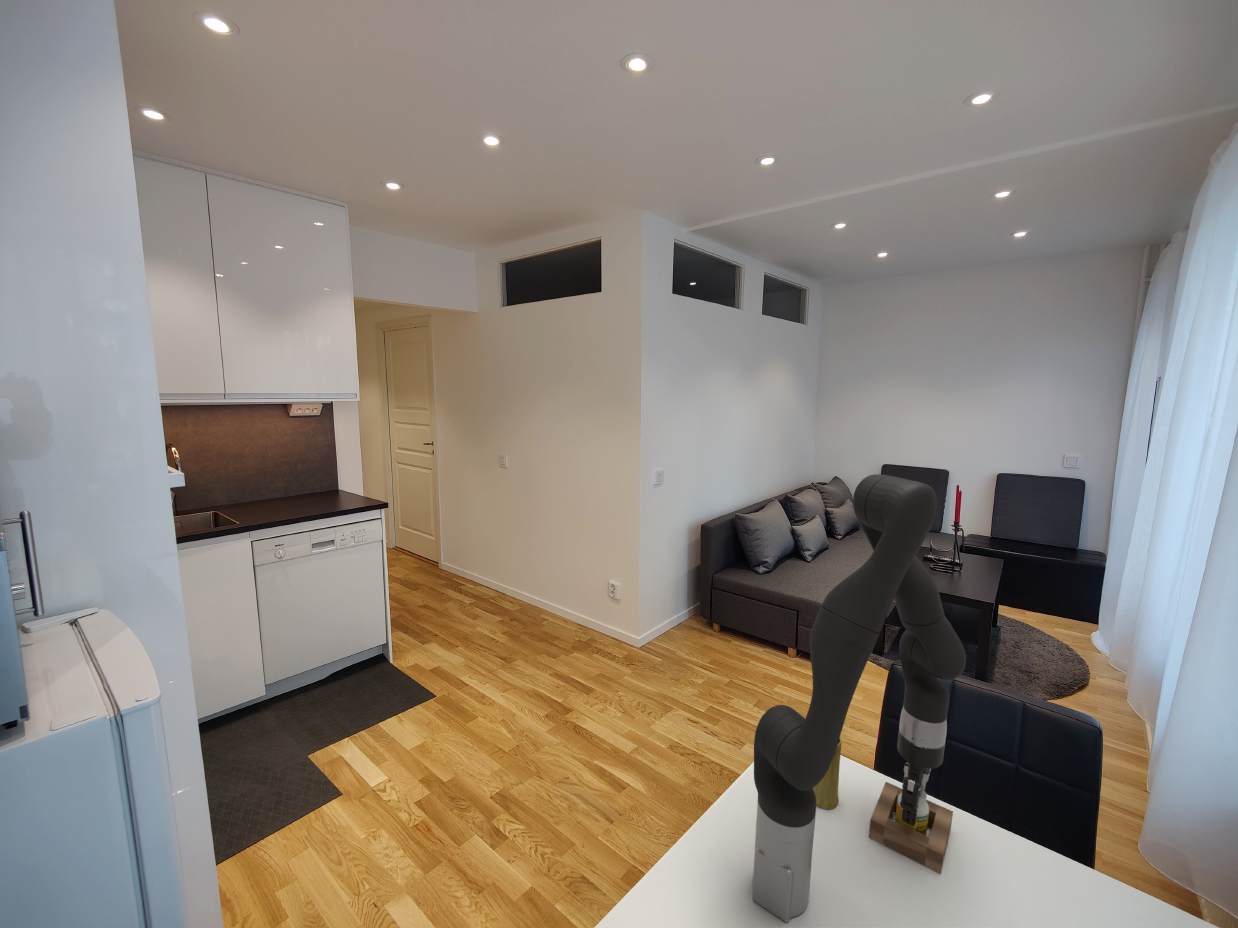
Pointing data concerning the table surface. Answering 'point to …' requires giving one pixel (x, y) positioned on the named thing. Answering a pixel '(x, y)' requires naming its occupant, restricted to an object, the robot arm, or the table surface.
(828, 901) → the table surface
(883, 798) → the socket block
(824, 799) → the vase
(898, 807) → the supplement bottle
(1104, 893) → the table surface
